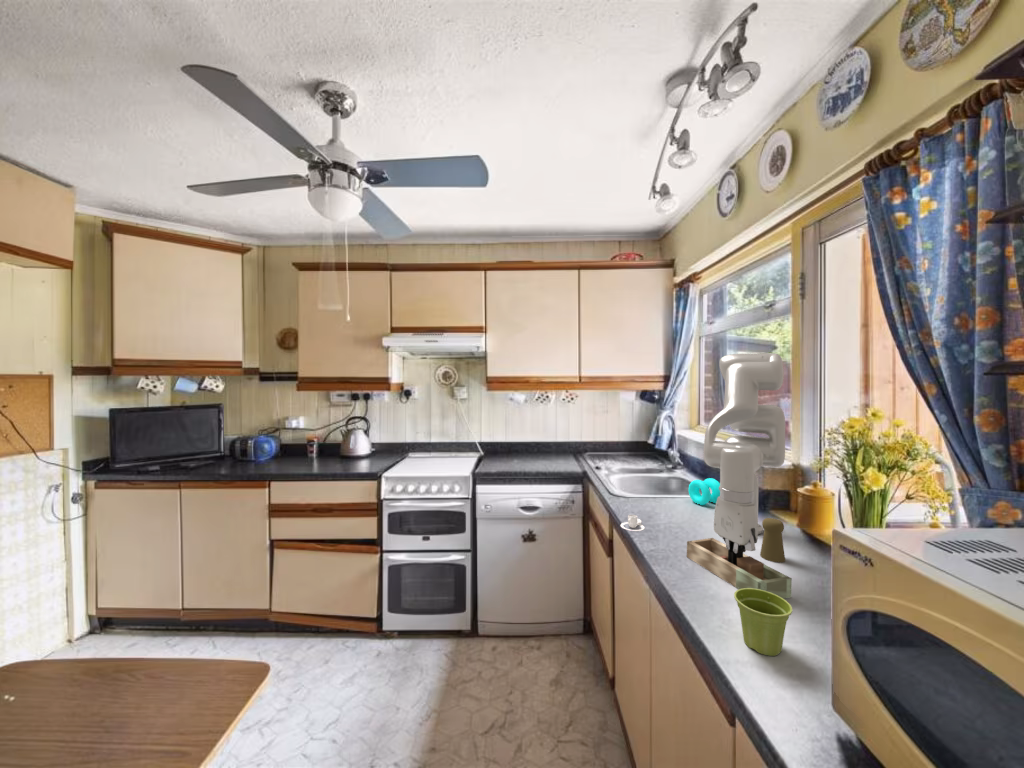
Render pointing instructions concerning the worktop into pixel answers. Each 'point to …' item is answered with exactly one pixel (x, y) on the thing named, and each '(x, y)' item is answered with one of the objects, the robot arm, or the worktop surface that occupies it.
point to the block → (751, 566)
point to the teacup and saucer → (633, 523)
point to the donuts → (704, 491)
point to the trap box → (736, 568)
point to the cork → (772, 540)
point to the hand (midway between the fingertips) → (735, 565)
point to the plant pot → (762, 619)
